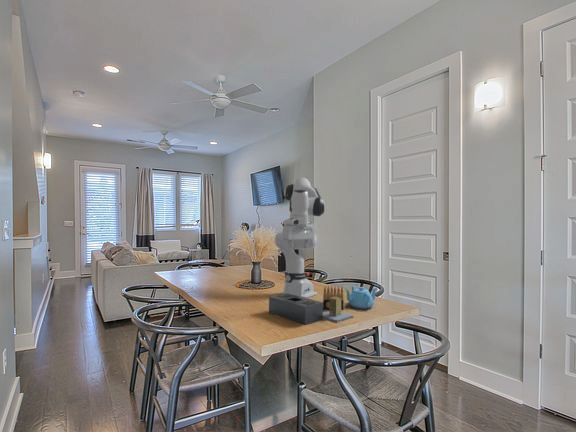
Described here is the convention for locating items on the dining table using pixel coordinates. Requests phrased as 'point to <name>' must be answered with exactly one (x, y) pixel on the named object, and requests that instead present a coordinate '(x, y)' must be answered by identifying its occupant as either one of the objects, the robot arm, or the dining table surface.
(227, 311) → the dining table surface
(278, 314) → the dark grey socket block
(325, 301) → the ammunition clip
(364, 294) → the teapot
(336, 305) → the brass plug
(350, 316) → the slate mat
